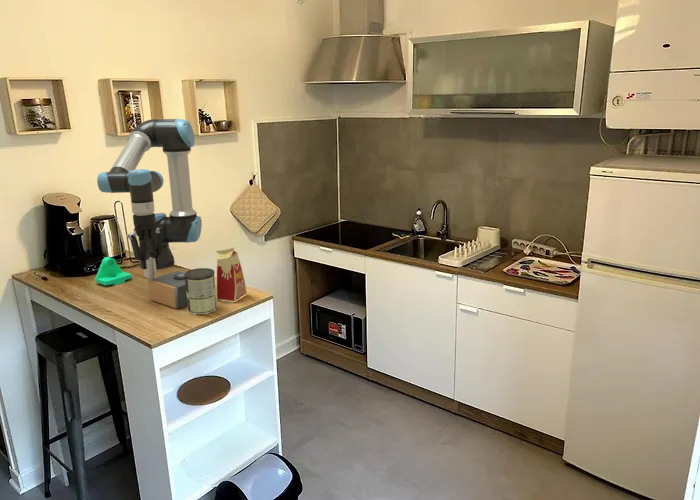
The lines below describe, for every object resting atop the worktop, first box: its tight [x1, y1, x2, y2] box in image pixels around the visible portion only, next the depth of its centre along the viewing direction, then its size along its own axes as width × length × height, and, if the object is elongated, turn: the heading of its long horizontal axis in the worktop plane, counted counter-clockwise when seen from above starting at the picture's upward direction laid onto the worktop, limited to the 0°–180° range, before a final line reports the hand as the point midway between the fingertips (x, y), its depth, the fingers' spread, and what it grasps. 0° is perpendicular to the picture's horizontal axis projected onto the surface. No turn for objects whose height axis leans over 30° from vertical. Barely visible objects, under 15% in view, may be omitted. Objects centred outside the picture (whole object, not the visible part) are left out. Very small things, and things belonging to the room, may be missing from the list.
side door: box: [146, 259, 180, 310], centre depth 195 cm, size 2×17×16 cm, turn 54°
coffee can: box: [183, 267, 218, 315], centre depth 190 cm, size 10×10×14 cm
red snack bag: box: [215, 247, 248, 301], centre depth 201 cm, size 9×9×20 cm
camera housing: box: [154, 270, 188, 309], centre depth 201 cm, size 12×16×9 cm
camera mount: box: [94, 256, 133, 286], centre depth 221 cm, size 12×8×10 cm, turn 145°
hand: (150, 275), depth 198 cm, fingers closed on side door, 2 cm apart
